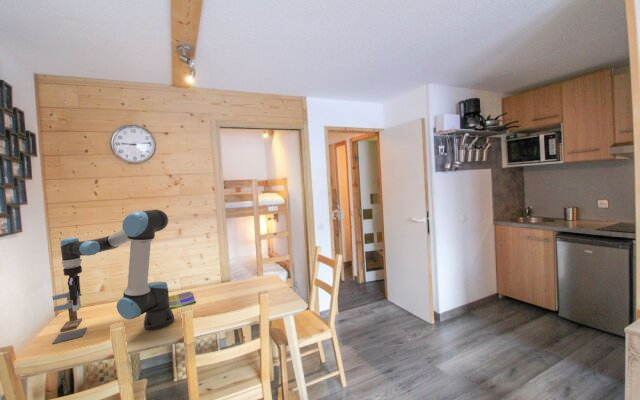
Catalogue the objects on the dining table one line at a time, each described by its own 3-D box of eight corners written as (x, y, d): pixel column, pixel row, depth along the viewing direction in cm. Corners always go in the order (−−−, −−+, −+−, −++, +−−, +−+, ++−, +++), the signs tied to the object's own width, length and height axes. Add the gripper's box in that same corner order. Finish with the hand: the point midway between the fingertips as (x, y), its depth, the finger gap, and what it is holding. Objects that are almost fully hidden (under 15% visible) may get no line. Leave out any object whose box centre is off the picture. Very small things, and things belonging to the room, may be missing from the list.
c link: (79, 305, 161) (77, 290, 160) (78, 306, 159) (76, 291, 158) (55, 309, 156) (53, 295, 156) (54, 311, 154) (52, 296, 154)
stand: (74, 331, 163) (70, 298, 162) (58, 335, 160) (54, 301, 159) (81, 320, 178) (78, 290, 178) (67, 323, 175) (63, 293, 174)
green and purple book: (166, 311, 183) (165, 307, 183) (165, 300, 204) (165, 296, 204) (196, 304, 191) (196, 300, 191) (193, 294, 212) (192, 290, 212)
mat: (82, 337, 155) (81, 335, 155) (52, 344, 150) (52, 343, 150) (87, 328, 166) (87, 327, 166) (59, 334, 160) (59, 333, 160)
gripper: (77, 268, 153) (82, 312, 154) (84, 262, 167) (88, 303, 168) (58, 271, 150) (63, 316, 151) (67, 265, 163) (72, 306, 164)
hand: (77, 309), depth 159 cm, fingers closed on c link, 2 cm apart
